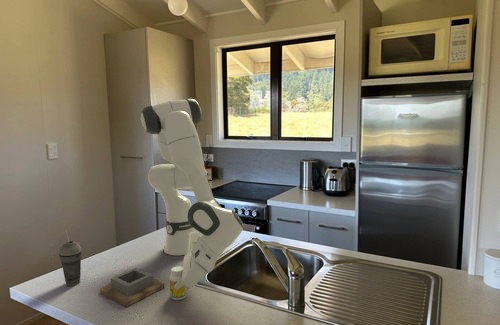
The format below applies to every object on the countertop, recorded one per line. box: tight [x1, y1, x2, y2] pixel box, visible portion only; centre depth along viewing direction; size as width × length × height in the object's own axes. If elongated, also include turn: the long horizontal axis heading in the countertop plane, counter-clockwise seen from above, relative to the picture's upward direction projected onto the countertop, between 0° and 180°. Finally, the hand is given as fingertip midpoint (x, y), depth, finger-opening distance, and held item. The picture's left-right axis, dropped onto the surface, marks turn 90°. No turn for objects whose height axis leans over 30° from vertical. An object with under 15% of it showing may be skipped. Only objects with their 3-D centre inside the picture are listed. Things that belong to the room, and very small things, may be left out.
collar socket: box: [99, 267, 165, 308], centre depth 116 cm, size 15×15×5 cm
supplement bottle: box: [169, 266, 188, 301], centre depth 111 cm, size 5×5×10 cm
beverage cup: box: [58, 229, 83, 287], centre depth 120 cm, size 7×7×20 cm
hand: (176, 282), depth 111 cm, fingers closed on supplement bottle, 5 cm apart
